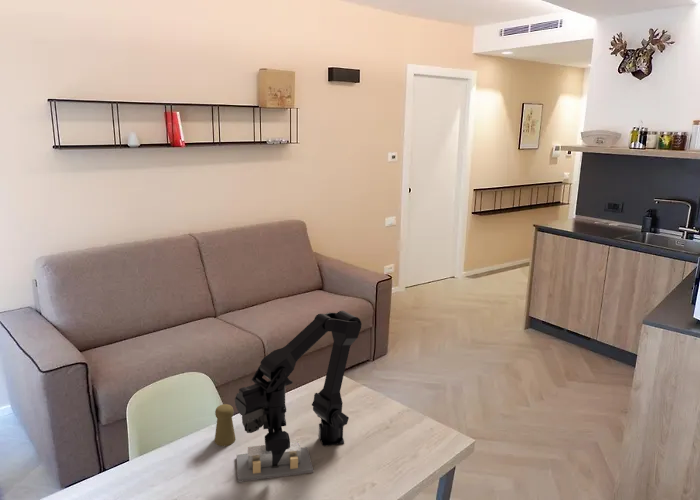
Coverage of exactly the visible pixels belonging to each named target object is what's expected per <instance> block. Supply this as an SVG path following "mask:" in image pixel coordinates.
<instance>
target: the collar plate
mask: <svg viewBox="0 0 700 500" xmlns="http://www.w3.org/2000/svg"><path fill="white" fill-rule="evenodd" d="M300 450H301V459H300V463H298V456H295V457H290V464H286V465H278V466H269V467H261V462H260V461H253V469H249V467H248V453H241V454H236V473H237V483H238V482H239V483H240V482H248V481H256V480H265V479H271V478H279V477H286V476H288V477H289V476H295V475H304V474H312V473H314V468H313V463H312V459H311V456H310V452H309V447H308V446H303V447H301V446H300Z"/></svg>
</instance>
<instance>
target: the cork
mask: <svg viewBox="0 0 700 500" xmlns="http://www.w3.org/2000/svg"><path fill="white" fill-rule="evenodd" d="M214 412H215V413H214V415H215V418H216V426H215V434H214V444H215V445H217V446H219V447H228V446H231V445H233V444H234V443H235V441H236V434H235V429H234V423H233V422H234V421H233V415H234V407H233V406H232V405H231V404H227V403H224V404H223V403H222V404H220V405H218V406H217V407H216V409H215V411H214Z"/></svg>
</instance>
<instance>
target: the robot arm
mask: <svg viewBox="0 0 700 500" xmlns="http://www.w3.org/2000/svg"><path fill="white" fill-rule="evenodd" d="M361 329H362V321H361V319H360V318H359V317H357V316H356V315H354V314H351V313H350V312H347V311H345V310H339V311H337V312H327V313H318V314H316V315H315V317H314V318H313V320H312V321H311V322H310V323H309V324H308V325H306V327H305V328H304V329H302V330H301V331H300V332H299V333H298V334H296V336H294V337H293V338H292V339H291V340H290V341H289V342H288V343H287V344H286V345H284V346H283V347H281V348H278V349H275V350H273V351H271V352H270V353H268V354H266V356H264V357H263V358H262V359H261V361H260V365H259V367H258V368H257V369H256V371H255V373H254V375H253V377H252V378H251V382H253V383H254V384H252V385H251V384H250V385H247V386H243V387H241V388H239V389H238V392H236V394H235V397H234V403H235V408H236V410H237V412H238V414H240V416H241V420H242V425H243V428H244V431H245V432H246V433H247V434H252V433H254V432H258V431H259V430H260V428H262V429H263V430H267V431H268V432H267V433H266V435H264V445H265V448H266V451H271V452H272V457H273V461H274V464H277V463H279V461H280V459H281V457H282V456H283V454H284V452H285V451H286V449H289V448H290V442H291V439H290V435H289V434H290V433H288V432H287V431H285V430H283V427H286V426H287V421H286V413H287V405H286V386H289V385H292V384H293V383H294V382H293V380H291V379H290V378H289V376H290V375H291V374H292V373H293V371H294V370H295V366H296V363H297V362H298V360H299V359H301V357H302V356H304V355H305V354H306V353H307V352H308V351H309V350H310V349H311V348H312V347H313V346H314V345H315V344H316V343H317V342H319V341H320V339H322V338H323V336H325V335H326V334H327V333H328V332H331V335H332V339H333V340H332V341H333V343H332V344H333V345H332V348H331V353H330V356H329V357H330V358H329V361H328V367H327V369H326V370H327V371H326V375H325V378H324V379H325V380H324V385H323V387H322V389H321V390H320V391H319V392H314V395H313V401H312V403H311V406H312V410H313V412H314V414H316V416H317V417H318V418H320V422H319V423H318V438H319V441H320V442H321V444H322V446H325V447H326V446H331V445H332V446H334V445H343V444H345V440H344V426H346V425H347V424H348V422H349V416H348V415H346V414H345V413H344V412H343V399H342V395H341V390H342V389H341V388H342V384H343V381H344V375H345V372H346V367H347V362H348V358H349V353H350V349H351V345H353V343H354V342H355V341H357V339H358V338H359V335H360V332H361ZM264 376H265V377H266V378H267V379H269V380H266V379H265V378H264Z"/></svg>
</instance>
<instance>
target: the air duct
mask: <svg viewBox="0 0 700 500" xmlns="http://www.w3.org/2000/svg"><path fill="white" fill-rule="evenodd" d="M300 448H301V446H300V442H299V441H298V440H297V441H290V448H289V449H286V451H285V452H284V454H283V456H282V457H281V459H280V461H279V463H277V464H274V461H273V457H272V452H271V451H266V448H265V444H263V445H254V446H253V445H252V446H247V454H248V467H249V469H253V461H260V462H261V467H269V466H278V465H286V464H290V457H295V456H298V463H300V459H301V450H300Z"/></svg>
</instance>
